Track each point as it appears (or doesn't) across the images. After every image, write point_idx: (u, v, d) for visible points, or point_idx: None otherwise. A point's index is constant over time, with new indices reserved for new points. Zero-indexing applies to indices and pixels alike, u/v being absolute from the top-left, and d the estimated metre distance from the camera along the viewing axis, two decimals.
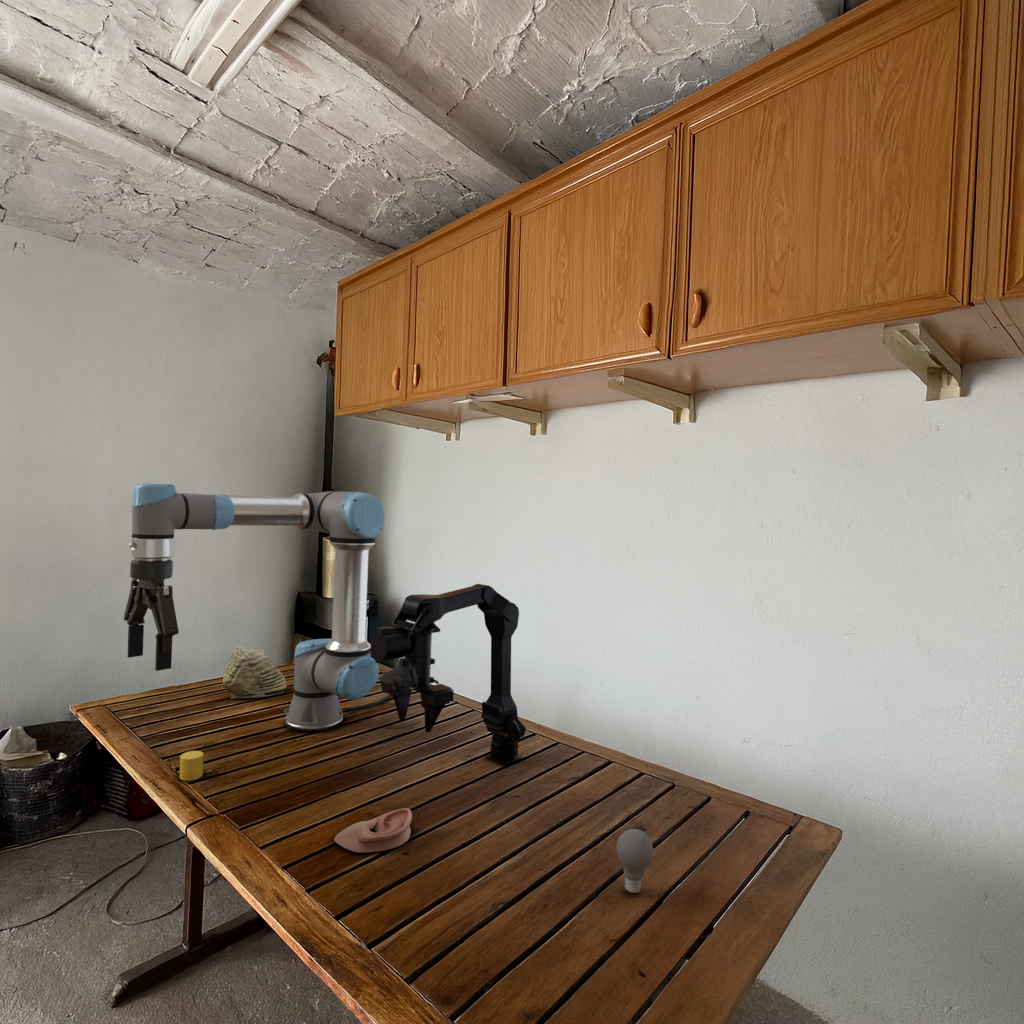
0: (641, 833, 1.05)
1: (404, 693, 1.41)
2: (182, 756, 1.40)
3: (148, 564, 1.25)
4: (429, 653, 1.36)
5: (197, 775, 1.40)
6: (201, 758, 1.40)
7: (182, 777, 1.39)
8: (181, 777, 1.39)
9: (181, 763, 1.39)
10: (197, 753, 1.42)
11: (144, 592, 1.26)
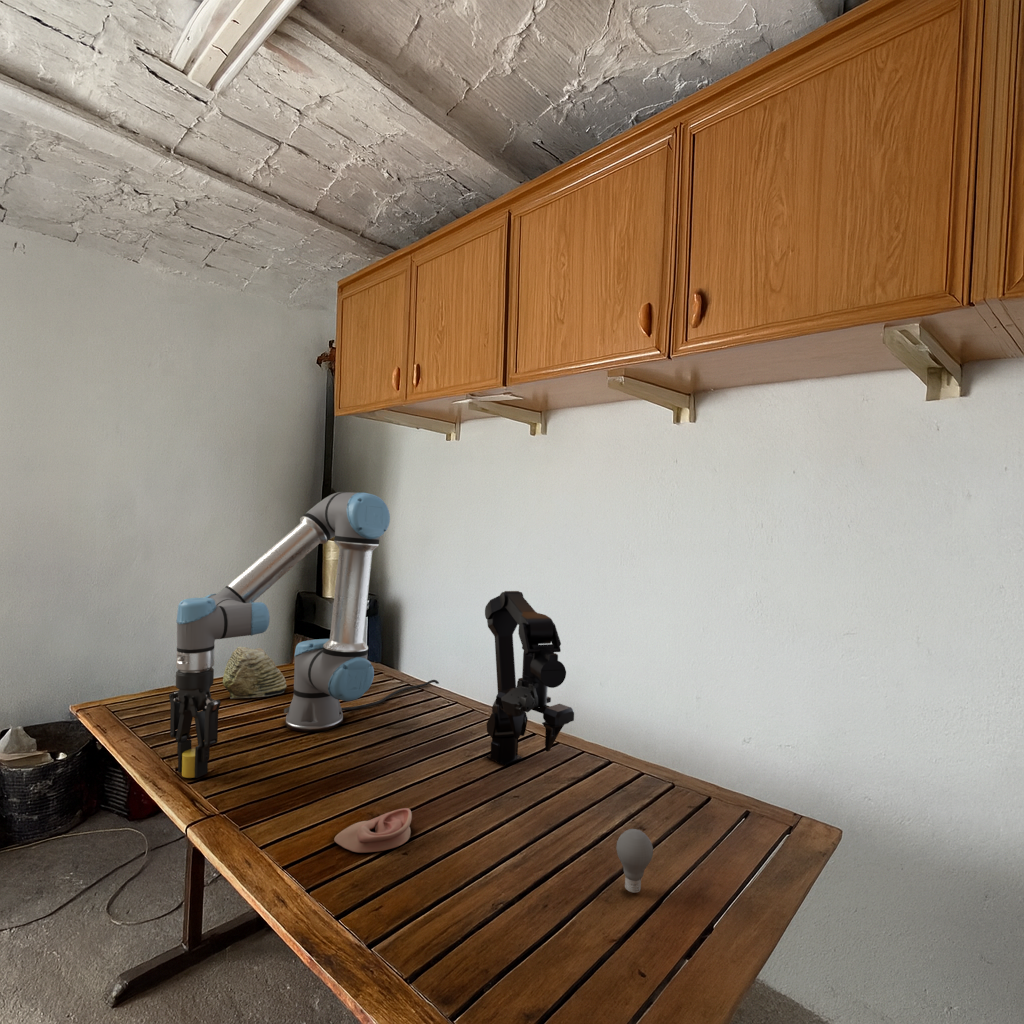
0: (641, 833, 1.05)
1: None
2: (184, 753, 1.40)
3: (197, 675, 1.37)
4: None
5: None
6: None
7: (184, 774, 1.39)
8: (183, 774, 1.39)
9: (183, 760, 1.39)
10: None
11: (192, 701, 1.38)
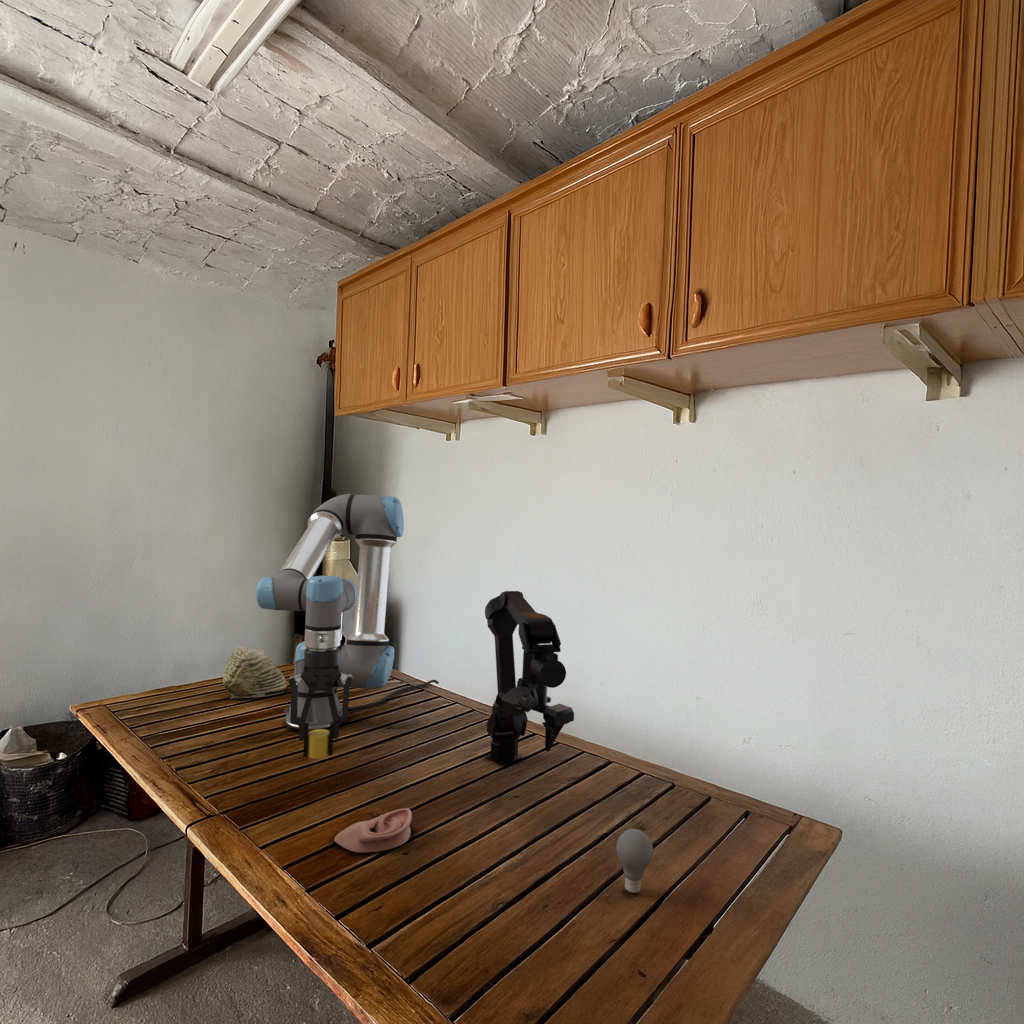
0: (641, 833, 1.05)
1: None
2: (313, 735, 1.37)
3: (337, 652, 1.37)
4: None
5: None
6: None
7: (317, 756, 1.36)
8: (316, 756, 1.36)
9: (316, 742, 1.36)
10: (320, 730, 1.40)
11: (328, 679, 1.37)
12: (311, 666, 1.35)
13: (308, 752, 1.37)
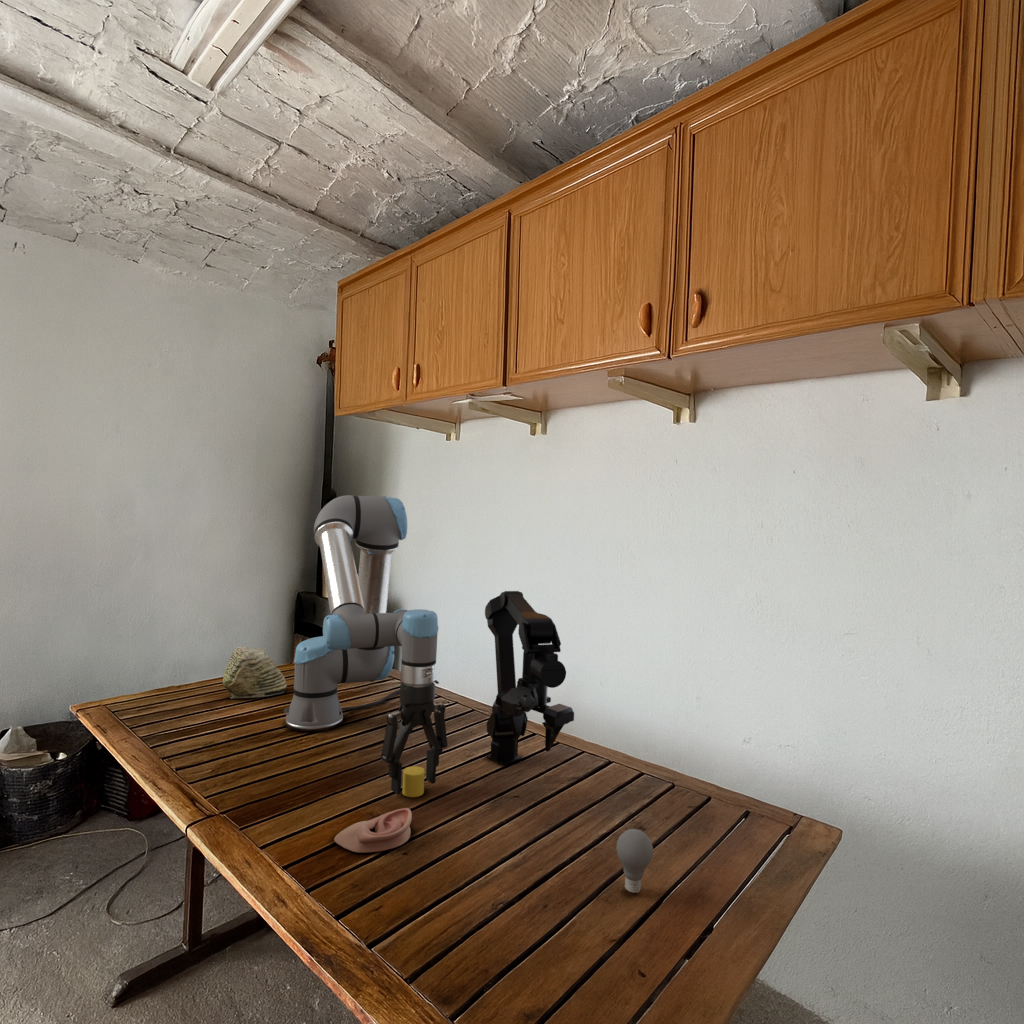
0: (641, 833, 1.05)
1: None
2: (414, 774, 1.36)
3: None
4: None
5: None
6: None
7: (419, 793, 1.36)
8: (417, 794, 1.36)
9: (417, 780, 1.36)
10: (411, 768, 1.39)
11: (428, 713, 1.37)
12: (417, 703, 1.33)
13: (408, 792, 1.35)
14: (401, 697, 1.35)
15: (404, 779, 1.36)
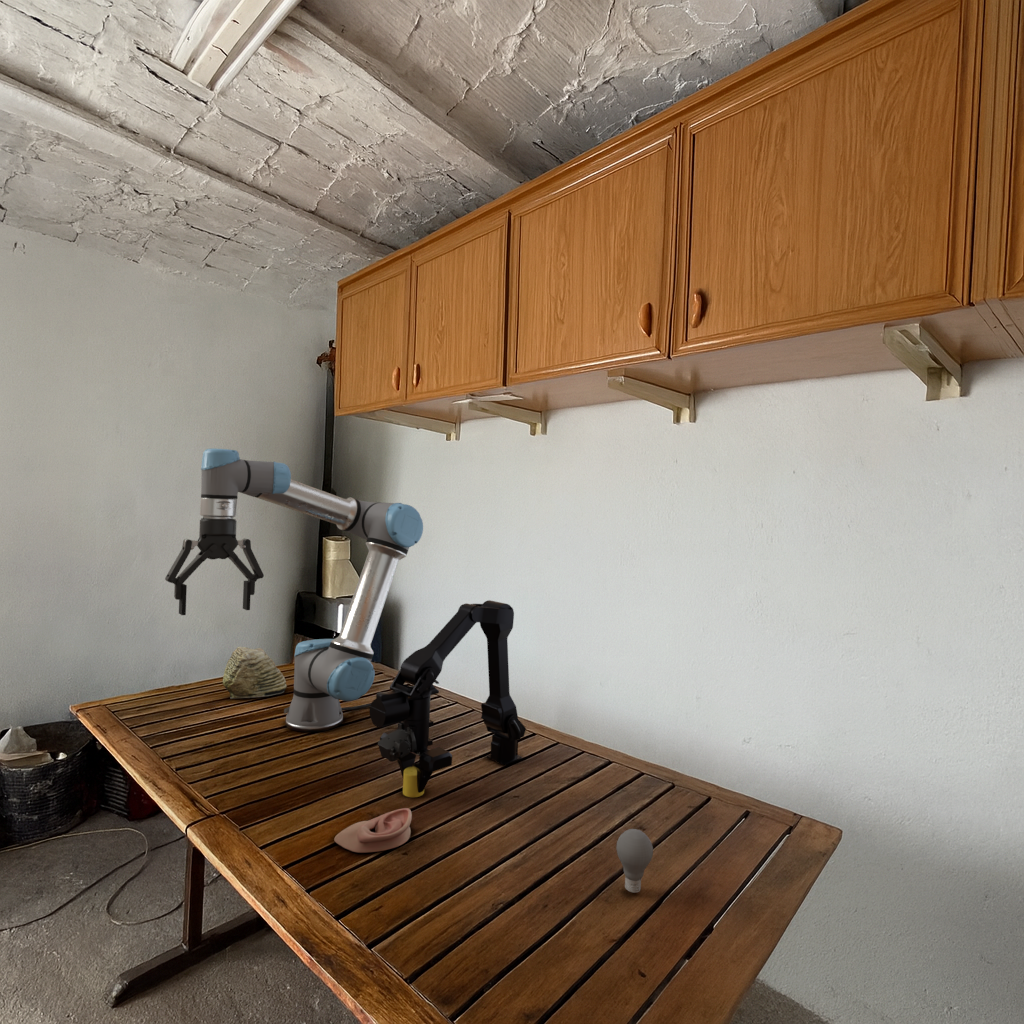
0: (641, 833, 1.05)
1: (409, 756, 1.40)
2: (414, 774, 1.36)
3: (236, 521, 1.43)
4: (428, 716, 1.36)
5: None
6: None
7: (419, 793, 1.36)
8: (418, 794, 1.36)
9: None
10: (412, 768, 1.38)
11: (228, 547, 1.42)
12: (213, 533, 1.39)
13: (408, 792, 1.35)
14: None
15: (404, 779, 1.36)
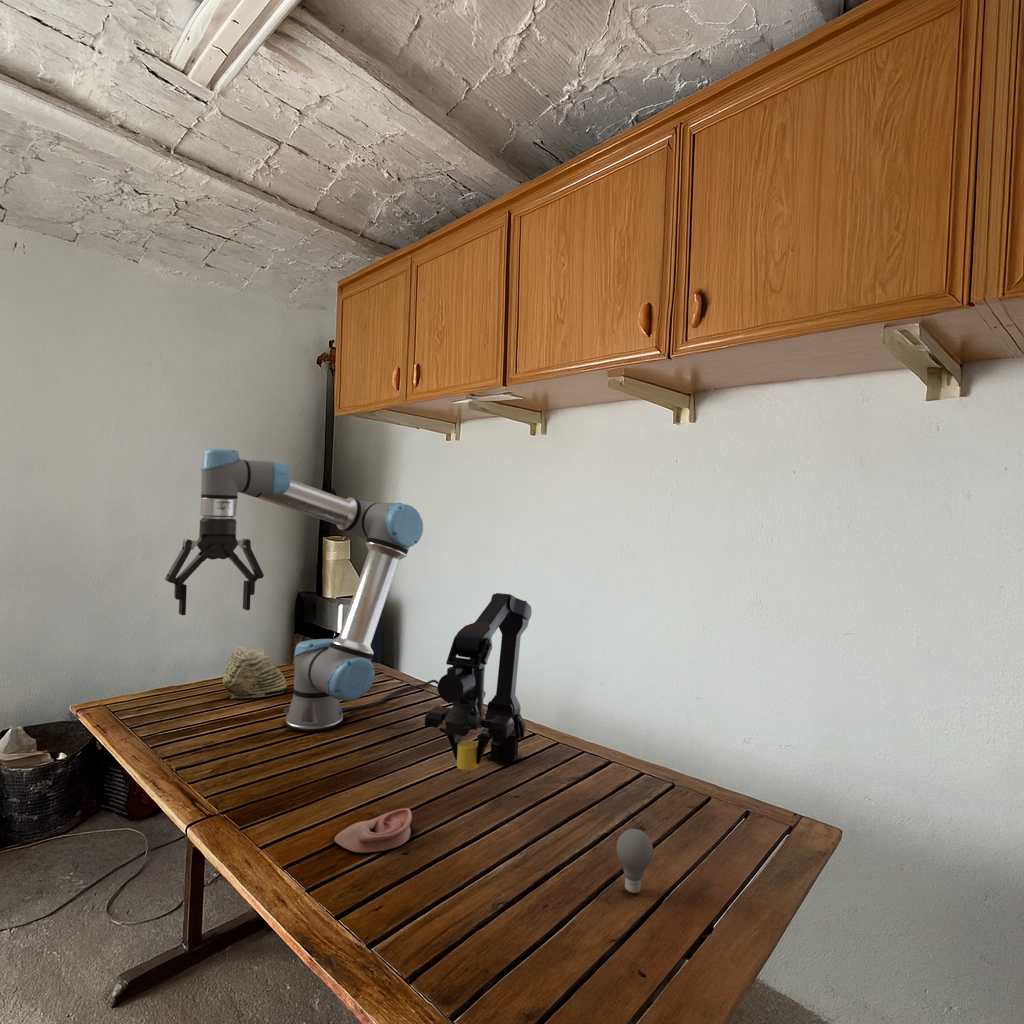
0: (641, 833, 1.05)
1: None
2: (473, 746, 1.35)
3: (236, 521, 1.43)
4: (483, 687, 1.36)
5: None
6: None
7: (477, 765, 1.35)
8: (476, 766, 1.35)
9: (476, 751, 1.35)
10: (463, 742, 1.37)
11: (228, 547, 1.42)
12: (213, 533, 1.39)
13: (468, 765, 1.34)
14: None
15: (462, 754, 1.34)
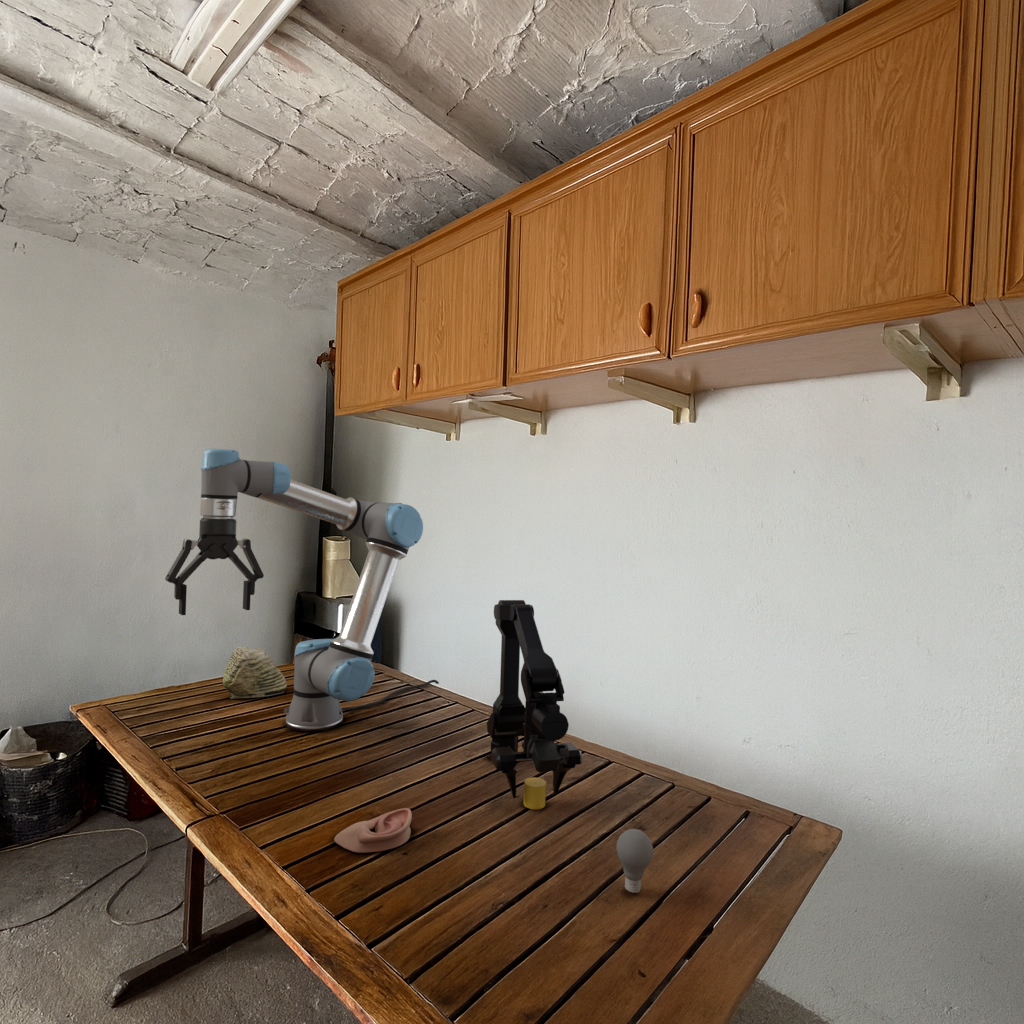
0: (641, 833, 1.05)
1: None
2: (543, 783, 1.34)
3: (236, 521, 1.43)
4: None
5: None
6: None
7: None
8: None
9: (545, 787, 1.35)
10: (529, 781, 1.34)
11: (228, 547, 1.42)
12: (213, 533, 1.39)
13: (541, 803, 1.33)
14: None
15: (537, 793, 1.32)
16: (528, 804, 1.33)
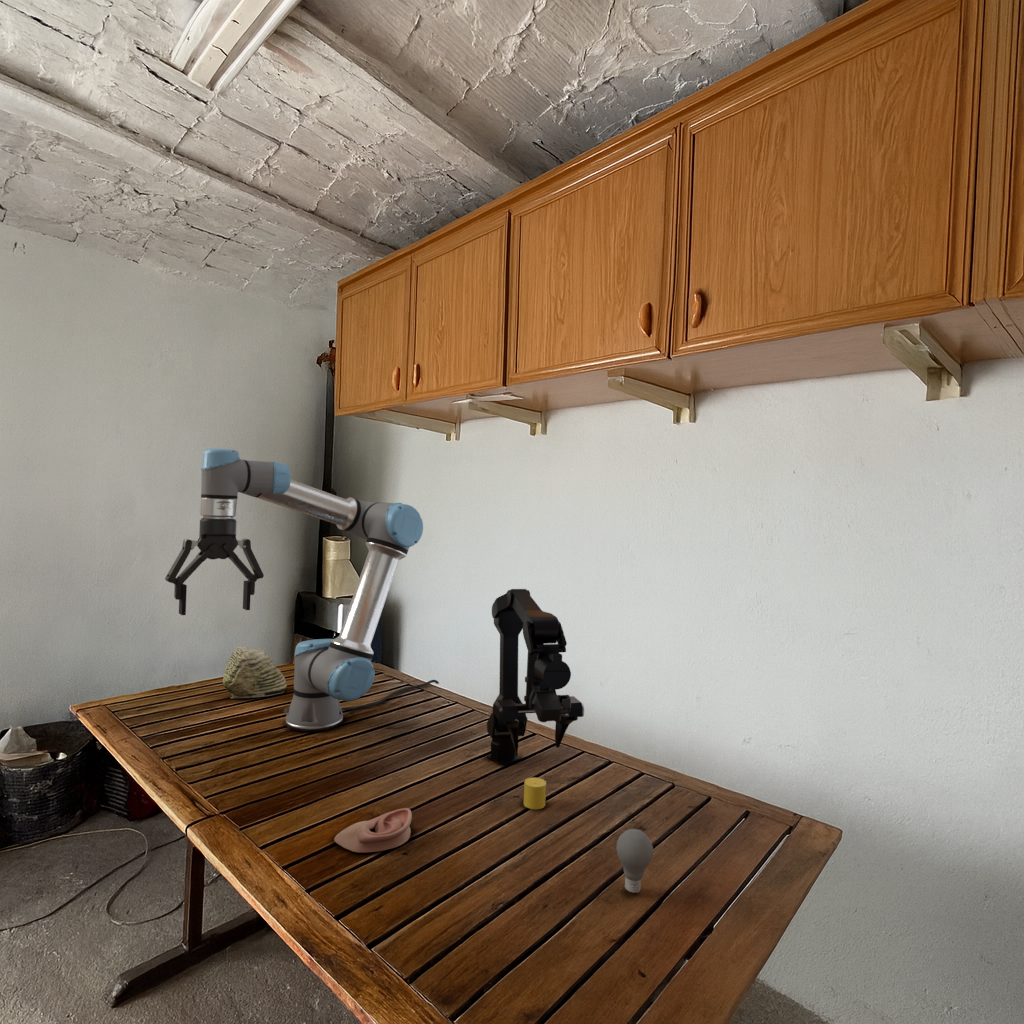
0: (641, 833, 1.05)
1: None
2: (543, 783, 1.34)
3: (236, 521, 1.43)
4: None
5: None
6: None
7: None
8: None
9: (545, 787, 1.35)
10: (529, 781, 1.34)
11: (228, 547, 1.42)
12: (213, 533, 1.39)
13: (541, 803, 1.33)
14: None
15: (537, 793, 1.32)
16: (528, 804, 1.33)
